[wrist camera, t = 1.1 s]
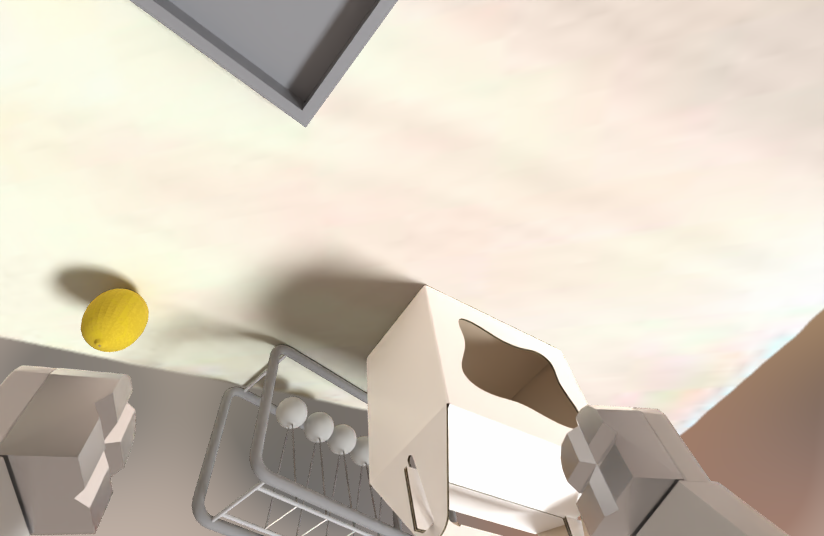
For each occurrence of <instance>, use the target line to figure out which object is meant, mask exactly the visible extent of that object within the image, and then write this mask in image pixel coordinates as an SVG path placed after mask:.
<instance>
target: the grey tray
mask: <svg viewBox="0 0 824 536" xmlns="http://www.w3.org/2000/svg"><path fill="white" fill-rule="evenodd" d="M130 1H132V2H133V3H134V4H136V5H137V6H138V7H140V8H141V9H143V10H144V11H145V12H147V13H148V14H150V15H151V16H152V17H154V18H155V19H156V20H158V21H159V22H161V23H162V24H163V25H165V26H166V27H167V28H169V29H170V30H172V31H173V32H174V33H176V34H177V35H179V36H180V37H181V38H183V39H184V40H185V41H187V42H188V43H190V44H191V45H192V46H194V47H195V48H197V49H198V50H199V51H201V52H202V53H203V54H205V55H206V56H208V57H209V58H210V59H212V60H213V61H214V62H216V63H217V64H219V65H220V66H221V67H223V68H224V69H226V70H227V71H228V72H230V73H231V74H232V75H234V76H235V77H237V78H238V79H239V80H241V81H242V82H244V83H245V84H246V85H248V86H249V87H250V88H252V89H253V90H255V91H256V92H257V93H259V94H260V95H261V96H263V97H264V98H266V99H267V100H268V101H270V102H271V103H273V104H274V105H275V106H277V107H278V108H279V109H281V110H282V111H284V112H285V113H286V114H288V115H289V116H291V117H292V118H293V119H295V120H296V121H297V122H299V123H300V124H302V125H303V126H304V127H306V126H307V125H308V124H309V122H310V121H311V119H312V118H313V117H314V115H315V114H316V113H317V111H318V110H319V108H320V107H321V106H322V104H323V103H324V102H325V100H326V99H327V97H328V96H329V95H330V93H331V92H332V91H333V89H334V88H335V86H336V85H337V84H338V82H339V81H340V80H341V78H342V77H343V75H344V74H345V73H346V71H347V70H348V68H349V67H350V66H351V64H352V63H353V62H354V60H355V59H356V57H357V56H358V55H359V53H360V52H361V51H362V49H363V48H364V46H365V45H366V44H367V42H368V41H369V40H370V38H371V37H372V35H373V34H374V33H375V31H376V30H377V29H378V27H379V26H380V24H381V23H382V22H383V20H384V19H385V17H386V16H387V15H388V13H389V12H390V11H391V9H392V8H393V6H394V5H395V4H396V2H397V1H398V0H130Z"/></svg>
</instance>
